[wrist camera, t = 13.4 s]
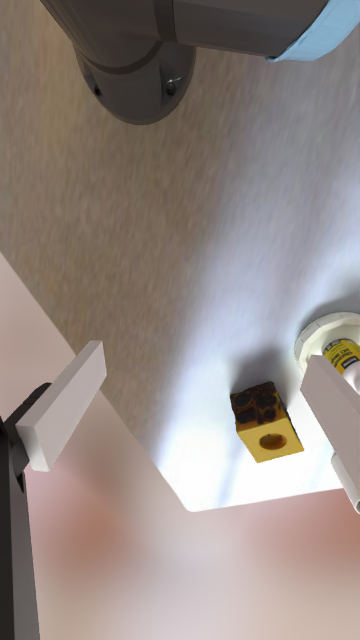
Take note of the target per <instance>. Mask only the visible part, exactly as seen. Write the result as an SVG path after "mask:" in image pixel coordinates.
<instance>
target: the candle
mask: <svg viewBox="0 0 360 640" xmlns="http://www.w3.org/2000/svg"><path fill="white" fill-rule="evenodd" d="M230 400H231V406H232V410H233V412H234V415H235V419H236V421H235V424H236V431H237V434H238V436H239V437H240V438H241V440H242V441H243V443H244V444H245V445H246V447H247V448H248V450H249V451H250V453H251V454H252V456H253V457H254V459H255V461H256V462H257V463H260V462H264V461H268V460H272V459H275V458H279V457H282V456H286V455H291V454H294V453H298V452H302V451H304V448H303V446H302V444H301V442H300V440H299V438H298V436H297V433H296V432H295V429H294V427H293V425H292V423H291V419H290V417H289V414H288V412H287V410H286V408H285V406H284V404H283V402H282V400H281V398H280V396H279V394H278V393H277V391H276V388H275V387H274V383H272V382H268V383H265V384H262V385H258V386H256V387H253V388H249V389H247V390H245V391H244V392H242V393H238V394H233V395H230Z"/></svg>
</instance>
